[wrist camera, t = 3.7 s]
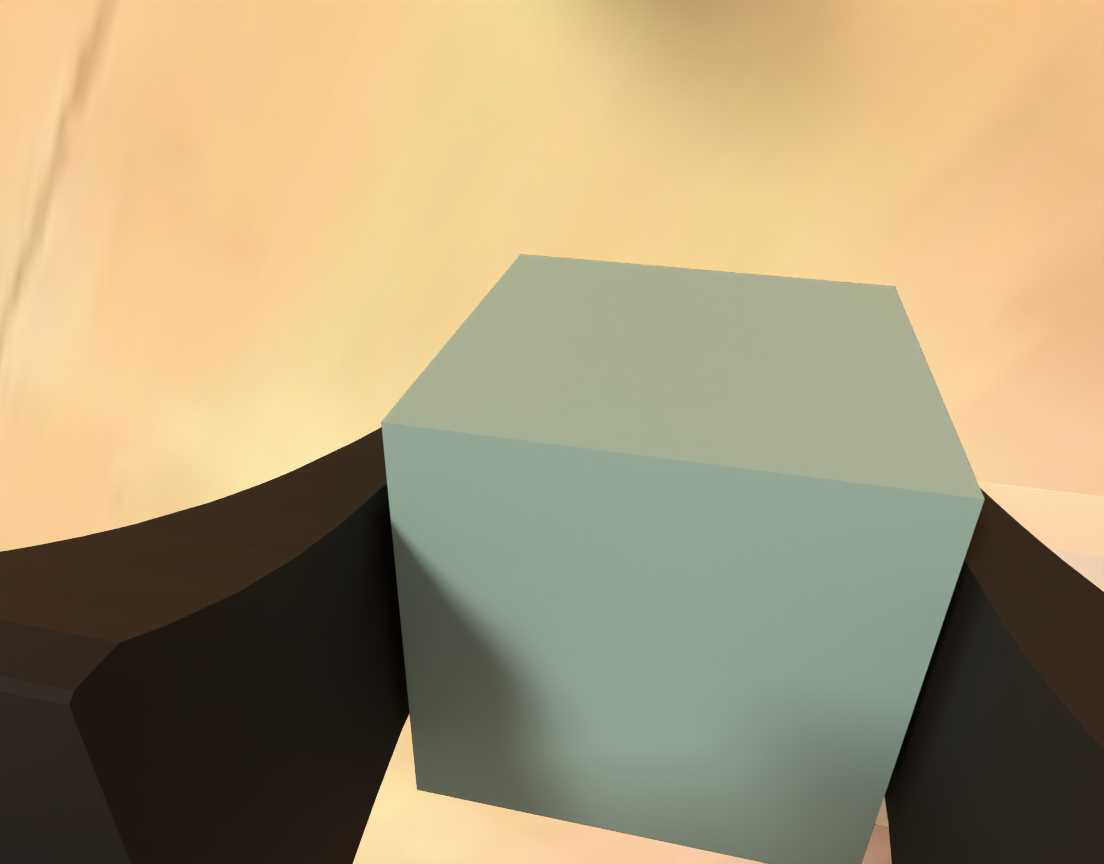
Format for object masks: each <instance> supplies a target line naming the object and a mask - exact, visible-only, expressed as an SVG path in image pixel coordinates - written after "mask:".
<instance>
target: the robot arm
mask: <svg viewBox="0 0 1104 864" xmlns="http://www.w3.org/2000/svg"><path fill="white" fill-rule="evenodd" d="M980 489H981V488H980ZM981 492H982V494H983V496H984V499H985V500H984V503H983V505H982V508H981V511H980V514H979V517H978V520H977V523H976V526H975V529H974V532H973V535H972V538H971V541H970V544H969V547H968V550H967V553H966V556H965V559H964V562H963V565H962V568H961V571H960V574H959V577H958V579H957V582H956V585H955V588H954V591H953V594H952V597H951V600H950V603H949V606H948V609H947V612H946V615H945V618H944V621H943V624H942V627H941V630H940V633H939V636H938V639H937V642H936V645H935V648H934V651H933V653H932V656H931V659H930V662H929V665H928V668H927V671H926V674H925V677H924V680H923V683H922V686H921V689H920V692H919V695H918V698H917V701H916V704H915V707H914V710H913V713H912V716H911V719H910V722H909V725H908V727H907V730H906V733H905V736H904V739H903V742H902V745H901V748H900V751H899V754H898V757H897V760H896V763H895V766H894V769H893V772H892V775H891V778H890V781H889V784H888V787H887V790H886V793H885V796H884V797H885V804H886V811H887V818H888V824H889V834H890V846H891V858H892V864H1104V592H1103V591H1102V590H1101V589H1100V588H1098V587H1097V586H1096V585H1094V584H1093V583H1092V582H1091V581H1089V580H1088V579H1087V578H1085V577H1084V576H1083V575H1082V574H1080V573H1079V572H1078V571H1076V570H1075V569H1074V568H1073V567H1071V566H1070V565H1069V564H1067V563H1066V562H1065V561H1064V560H1062V559H1061V558H1060V557H1059V556H1057V555H1056V554H1055V553H1054V552H1053V551H1051V550H1050V549H1049V548H1048V547H1047V546H1045V545H1044V544H1043V543H1042V542H1041V541H1039V540H1038V539H1037V538H1036V537H1035V536H1034V535H1032V534H1031V533H1030V532H1029V531H1028V530H1027V529H1025V528H1024V527H1023V526H1022V525H1021V524H1020V523H1019V522H1017V521H1016V520H1015V519H1014V518H1013V517H1012V516H1011V515H1010V514H1008V513H1007V512H1006V511H1005V510H1004V509H1003V508H1002V507H1001V506H1000V505H998V504H997V503H996V502H995V501H994V500H993V499H992V498H991V497H990V496H989V495H987V494H986V493H985V492H984V491H983V490H982V489H981ZM409 713H410V712H409V702H408V691H407V681H406V671H405V661H404V650H403V640H402V630H401V620H400V609H399V599H398V589H397V579H396V568H395V558H394V548H393V538H392V527H391V517H390V507H389V497H388V486H387V476H386V466H385V456H384V445H383V435H382V427H381V428H379V429H378V430H376V431H374V432H372V433H370V434H368V435H366V436H364V437H363V438H361V439H359V440H357V441H355V442H353V443H351V444H349V445H347V446H345V447H342V448H340V449H338V450H336V451H334V452H332V453H330V454H328V455H326V456H324V457H321V458H319V459H317V460H315V461H313V462H311V463H309V464H307V465H305V466H303V467H300V468H298V469H296V470H294V471H292V472H289V473H287V474H285V475H282V476H280V477H278V478H275V479H273V480H270V481H268V482H265V483H263V484H260V485H257V486H255V487H252V488H249V489H247V490H244V491H241V492H238V493H236V494H233V495H230V496H227V497H225V498H222V499H219V500H216V501H213V502H210V503H207V504H203V505H200V506H196V507H193V508H189V509H186V510H183V511H179V512H176V513H172V514H169V515H165V516H162V517H158V518H155V519H151V520H148V521H144V522H141V523H138V524H134V525H130V526H126V527H122V528H118V529H113V530H109V531H104V532H100V533H96V534H91V535H87V536H83V537H78V538H73V539H68V540H63V541H58V542H52V543H47V544H42V545H37V546H32V547H26V548H20V549H14V550H9V551H2V552H0V864H352V863H353V861H354V858H355V855H356V852H357V849H358V847H359V844H360V841H361V838H362V835H363V833H364V830H365V827H366V824H367V821H368V819H369V816H370V813H371V810H372V807H373V805H374V802H375V799H376V796H377V794H378V791H379V788H380V786H381V783H382V781H383V778H384V775H385V773H386V770H387V767H388V765H389V762H390V759H391V757H392V754H393V752H394V749H395V746H396V744H397V741H398V738H399V736H400V733H401V731H402V728H403V726H404V724H405V722H406V720H407V717H408V715H409Z"/></svg>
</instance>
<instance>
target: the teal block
mask: <svg viewBox="0 0 1104 864" xmlns="http://www.w3.org/2000/svg"><path fill="white" fill-rule="evenodd" d="M381 425H382V435H383V445H384V456H385V466H386V476H387V486H388V497H389V507H390V517H391V527H392V538H393V548H394V558H395V568H396V579H397V589H398V599H399V609H400V620H401V630H402V640H403V650H404V661H405V671H406V681H407V691H408V702H409V712H410V722H411V732H412V743H413V753H414V763H415V773H416V784H417V790H421V791H426V792H431V793H436V794H440V795H445V796H450V797H455V798H459V799H464V800H469V801H474V802H478V803H483V804H488V805H493V806H497V807H502V808H507V809H512V810H516V811H521V812H526V813H531V814H535V815H540V816H545V817H550V818H554V819H559V820H564V821H569V822H573V823H578V824H583V825H588V826H592V827H597V828H602V829H607V830H611V831H616V832H621V833H626V834H630V835H635V836H640V837H645V838H649V839H654V840H659V841H664V842H668V843H673V844H678V845H683V846H687V847H692V848H697V849H702V850H706V851H711V852H716V853H721V854H725V855H730V856H735V857H740V858H744V859H749V860H754V861H759V862H763V863H768V864H862V861H863V858H864V855H865V852H866V849H867V846H868V843H869V840H870V837H871V834H872V831H873V828H874V825H875V822H876V819H877V816H878V813H879V810H880V807H881V804H882V801H883V799H884V796H885V793H886V790H887V787H888V784H889V781H890V778H891V775H892V772H893V769H894V766H895V763H896V760H897V757H898V754H899V751H900V748H901V745H902V742H903V739H904V736H905V733H906V730H907V727H908V725H909V722H910V719H911V716H912V713H913V710H914V707H915V704H916V701H917V698H918V695H919V692H920V689H921V686H922V683H923V680H924V677H925V674H926V671H927V668H928V665H929V662H930V659H931V656H932V653H933V651H934V648H935V645H936V642H937V639H938V636H939V633H940V630H941V627H942V624H943V621H944V618H945V615H946V612H947V609H948V606H949V603H950V600H951V597H952V594H953V591H954V588H955V585H956V582H957V579H958V577H959V574H960V571H961V568H962V565H963V562H964V559H965V556H966V553H967V550H968V547H969V544H970V541H971V538H972V535H973V532H974V529H975V526H976V523H977V520H978V517H979V514H980V511H981V508H982V505H983V503H984V500H985V499H984V496H983V494H982V492H981V489H980V487H979V485H978V482H977V480H976V477H975V475H974V473H973V470H972V468H971V466H970V463H969V461H968V458H967V456H966V454H965V451H964V449H963V447H962V444H961V442H960V439H959V437H958V435H957V432H956V430H955V428H954V425H953V423H952V421H951V418H950V416H949V413H948V411H947V409H946V406H945V404H944V402H943V399H942V397H941V394H940V392H939V390H938V387H937V385H936V383H935V380H934V378H933V375H932V373H931V371H930V368H929V366H928V364H927V361H926V359H925V356H924V354H923V352H922V349H921V347H920V345H919V342H918V340H917V337H916V335H915V333H914V330H913V328H912V326H911V323H910V321H909V318H908V316H907V314H906V311H905V309H904V307H903V304H902V302H901V299H900V297H899V295H898V292H897V290H896V288H895V286H884V285H873V284H861V283H850V282H838V281H826V280H815V279H803V278H792V277H780V276H768V275H757V274H745V273H734V272H722V271H710V270H699V269H687V268H676V267H664V266H652V265H641V264H629V263H618V262H606V261H594V260H583V259H571V258H559V257H548V256H536V255H525V254H520V256H519V257H518V258H517V259H516V260H515V262H514V263H513V264H512V265H511V266H510V268H509V269H508V270H507V271H506V272H505V274H504V275H503V276H502V277H501V279H500V280H499V281H498V282H497V283H496V285H495V286H494V287H493V288H492V289H491V291H490V292H489V293H488V294H487V295H486V297H485V298H484V299H483V300H482V301H481V303H480V304H479V305H478V306H477V307H476V309H475V310H474V311H473V312H472V313H471V315H470V316H469V317H468V318H467V319H466V321H465V322H464V323H463V324H462V325H461V327H460V328H459V329H458V330H457V331H456V333H455V334H454V335H453V336H452V338H451V339H450V340H449V341H448V342H447V344H446V345H445V346H444V347H443V348H442V350H441V351H440V352H439V353H438V354H437V356H436V357H435V358H434V359H433V360H432V362H431V363H430V364H429V365H428V366H427V368H426V369H425V370H424V371H423V372H422V374H421V375H420V376H419V377H418V378H417V380H416V381H415V382H414V383H413V384H412V386H411V387H410V388H409V389H408V390H407V392H406V393H405V394H404V395H403V397H402V398H401V399H400V400H399V401H398V403H397V404H396V405H395V406H394V407H393V409H392V410H391V411H390V412H389V413H388V415H387V416H386V417H385V418H384V419H383V421H382V422H381Z"/></svg>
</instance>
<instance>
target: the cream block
mask: <svg viewBox="0 0 1104 864" xmlns="http://www.w3.org/2000/svg"><path fill="white" fill-rule="evenodd" d="M977 482H978V481H977ZM978 485H979V487H980V488H981V489H982V490H983V491H984V492H985V493H986V494H987V495H989V496H990V497H991V498H992V499H993V500H994V501H995V502H996V503H997V504H998V505H1000V506H1001V507H1002V508H1003V509H1004V510H1005V511H1006V512H1007V513H1008V514H1010V515H1011V516H1012V517H1013V518H1014V519H1015V520H1016V521H1017V522H1019V523H1020V524H1021V525H1022V526H1023V527H1024V528H1025V529H1027V530H1028V531H1029V532H1030V533H1031V534H1032V535H1034V536H1035V537H1036V538H1037V539H1038V540H1039V541H1041V542H1042V543H1043V544H1044V545H1045V546H1047V547H1048V548H1049V549H1050V550H1051V551H1053V552H1054V553H1055V554H1056V555H1057V556H1059V557H1060V558H1061V559H1062V560H1064V561H1065V562H1066V563H1067V564H1069V565H1070V566H1071V567H1073V568H1074V569H1075V570H1076V571H1078V572H1079V573H1080V574H1082V575H1083V576H1084V577H1085V578H1087V579H1088V580H1089V581H1091V582H1092V583H1093V584H1094V585H1096V586H1097V587H1098V588H1100V589H1101V590H1102V591H1103V592H1104V496H1095V495H1087V494H1079V493H1070V492H1062V491H1053V490H1045V489H1037V488H1028V487H1020V486H1011V485H1003V484H995V483H986V482H978ZM875 824H876V825H881V826H886V827H889V824H888V818H887V811H886V804H885V797H884V799H883V801H882V804H881V807H880V810H879V813H878V816H877V819H876V822H875Z"/></svg>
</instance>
